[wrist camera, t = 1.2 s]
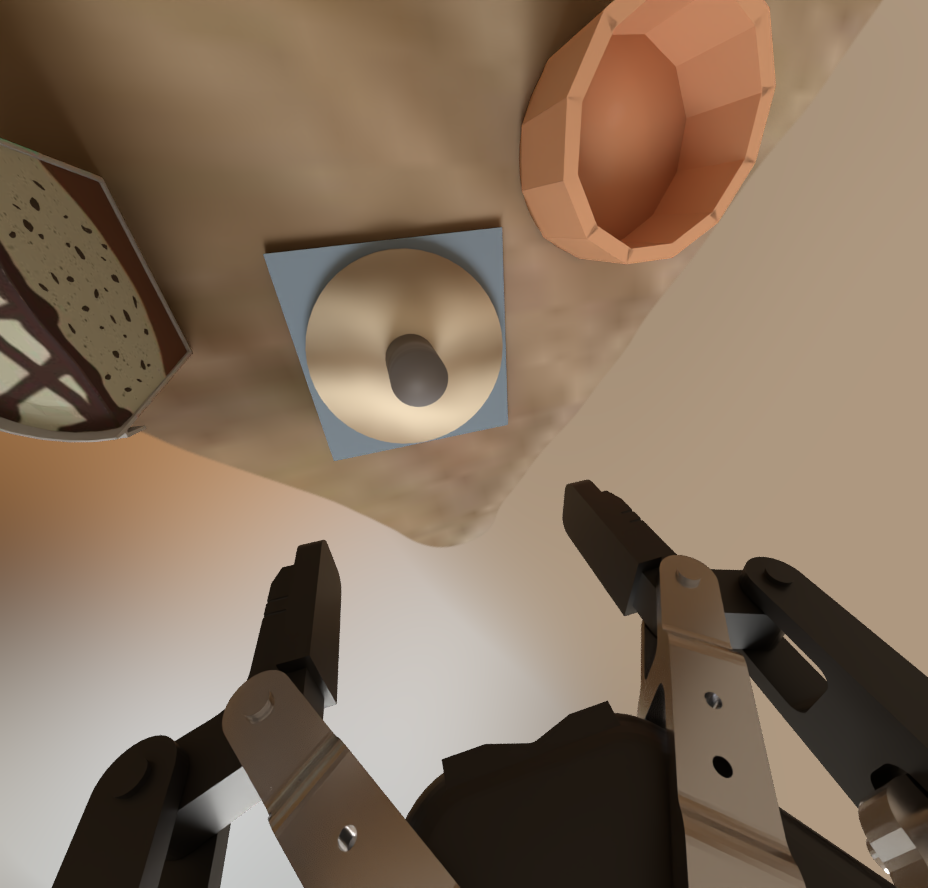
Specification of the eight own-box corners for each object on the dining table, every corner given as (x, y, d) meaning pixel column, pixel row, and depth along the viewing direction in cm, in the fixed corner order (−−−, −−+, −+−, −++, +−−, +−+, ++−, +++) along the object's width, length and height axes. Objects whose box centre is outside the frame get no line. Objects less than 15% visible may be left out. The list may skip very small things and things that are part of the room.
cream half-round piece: (-66, 151, 17) (-480, 72, 9) (82, 139, 18) (-157, 59, 9) (101, 392, 23) (-40, 481, 15) (203, 374, 24) (124, 449, 16)
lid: (275, 262, 22) (255, 270, 17) (495, 236, 24) (525, 238, 20) (338, 454, 29) (335, 493, 25) (502, 420, 31) (525, 450, 27)
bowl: (518, 21, 20) (573, -50, 15) (705, 19, 22) (810, -44, 17) (520, 265, 26) (559, 273, 21) (664, 246, 28) (732, 249, 23)
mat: (265, 253, 22) (263, 254, 21) (499, 227, 24) (501, 227, 24) (334, 457, 30) (334, 461, 29) (505, 421, 32) (507, 424, 32)
